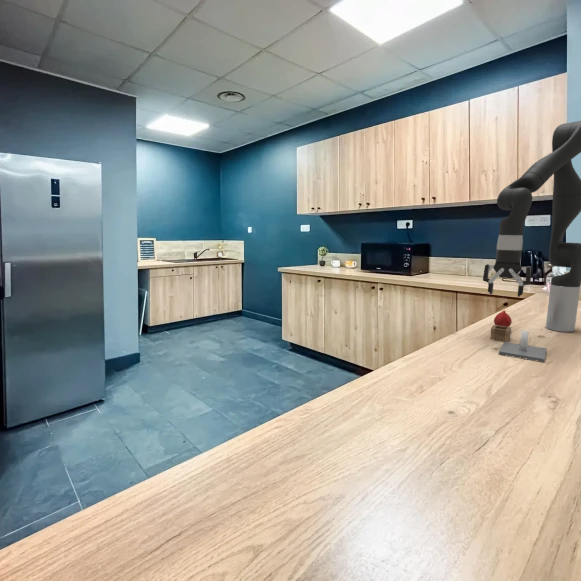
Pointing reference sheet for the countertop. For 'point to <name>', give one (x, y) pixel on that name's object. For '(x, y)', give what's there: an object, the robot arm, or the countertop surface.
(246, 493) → the countertop surface
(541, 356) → the post stand
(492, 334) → the ring
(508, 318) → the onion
